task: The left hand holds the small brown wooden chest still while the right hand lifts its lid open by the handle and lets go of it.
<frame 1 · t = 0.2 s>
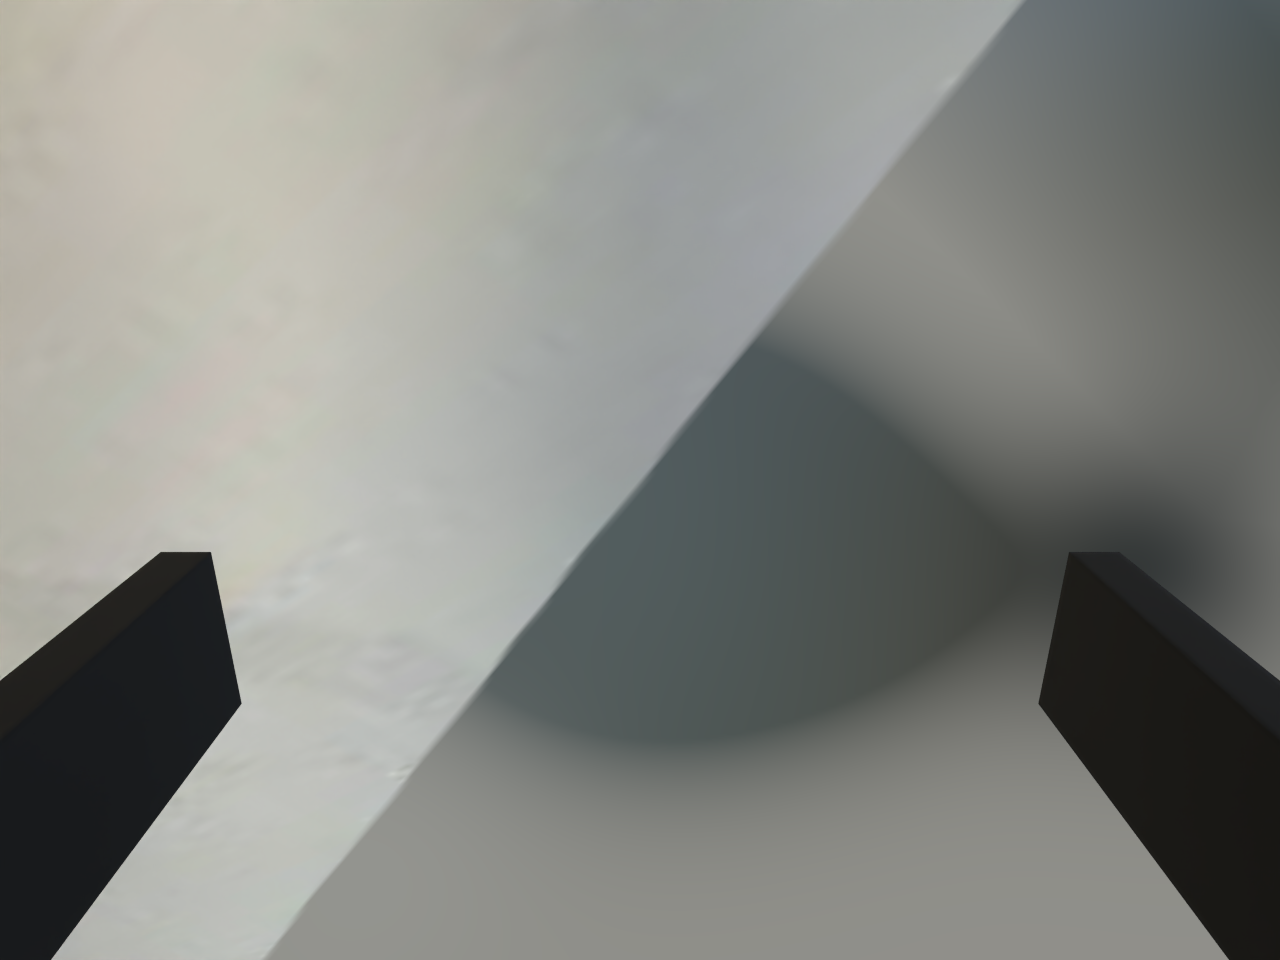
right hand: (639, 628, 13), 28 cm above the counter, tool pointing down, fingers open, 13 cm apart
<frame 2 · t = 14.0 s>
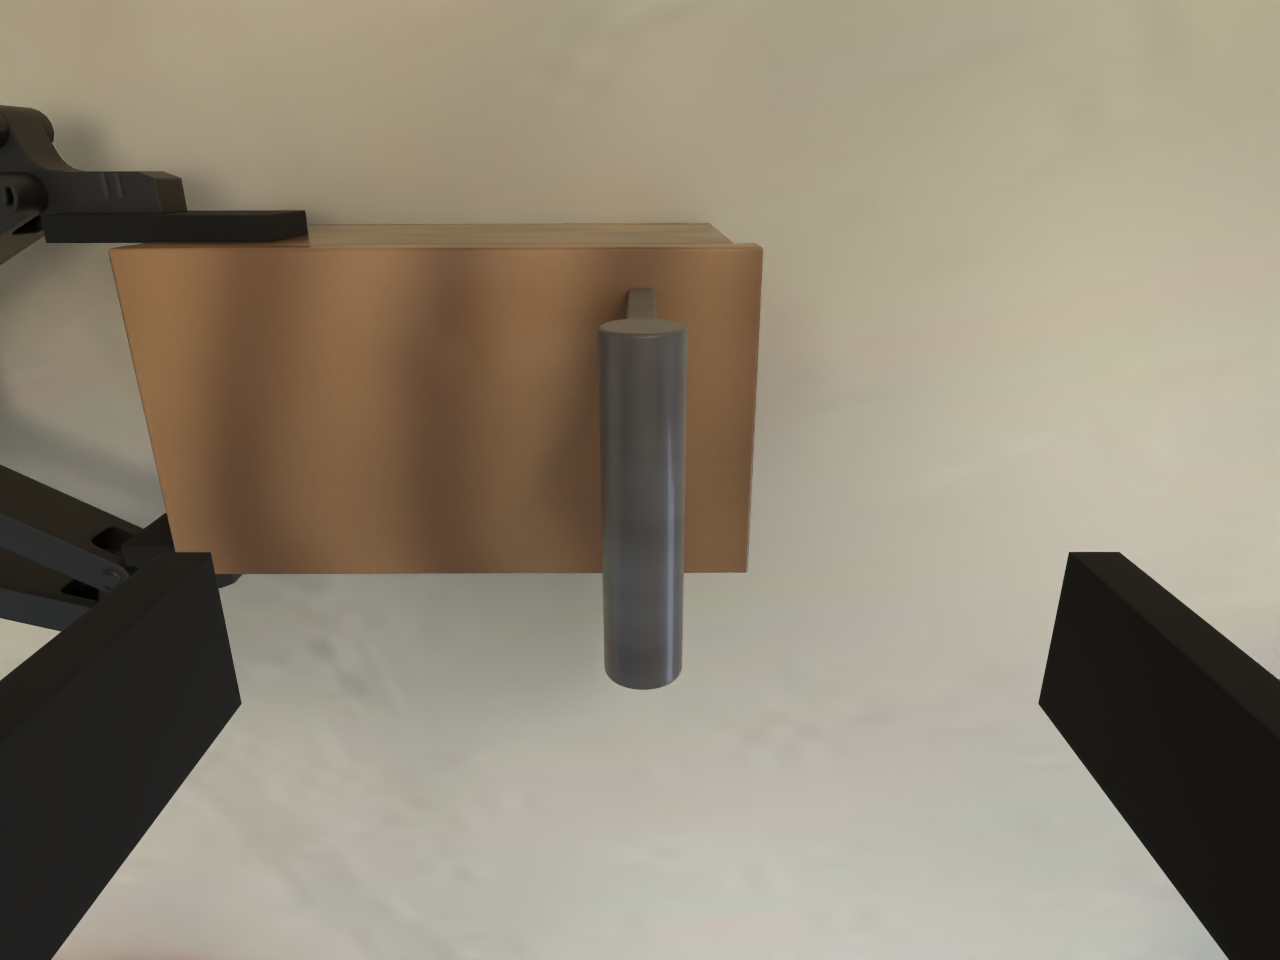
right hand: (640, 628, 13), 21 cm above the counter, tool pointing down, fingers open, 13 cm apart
chest: (495, 351, 33), on the counter, touching left hand
lid: (424, 458, 21), point 13 cm above the counter, hinge at 0.0°
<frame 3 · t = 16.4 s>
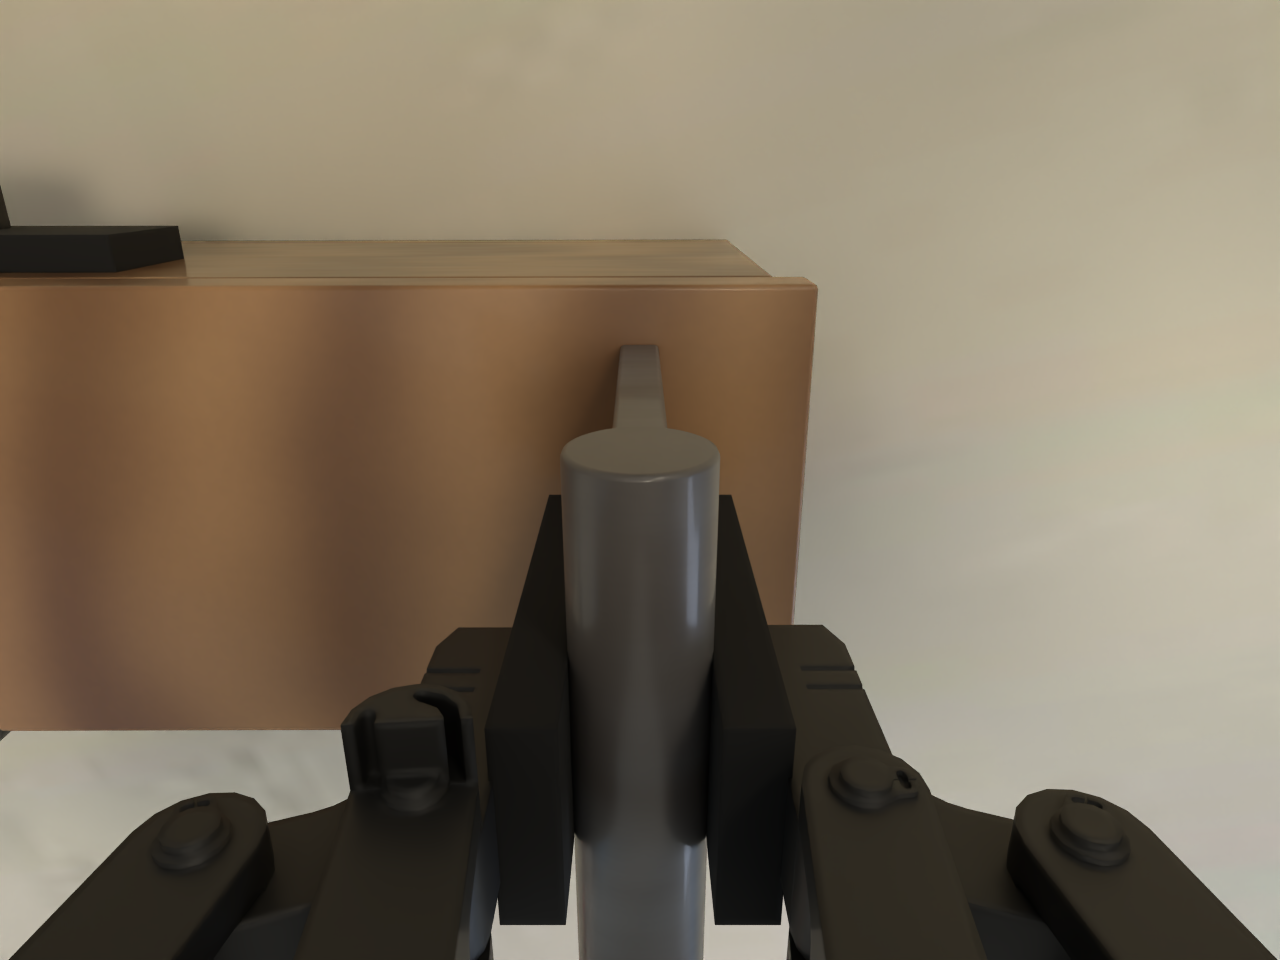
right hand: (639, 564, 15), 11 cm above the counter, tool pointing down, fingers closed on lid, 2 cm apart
chest: (453, 401, 26), on the counter, touching left hand
lid: (309, 608, 14), point 13 cm above the counter, hinge at 0.2°, touching right hand
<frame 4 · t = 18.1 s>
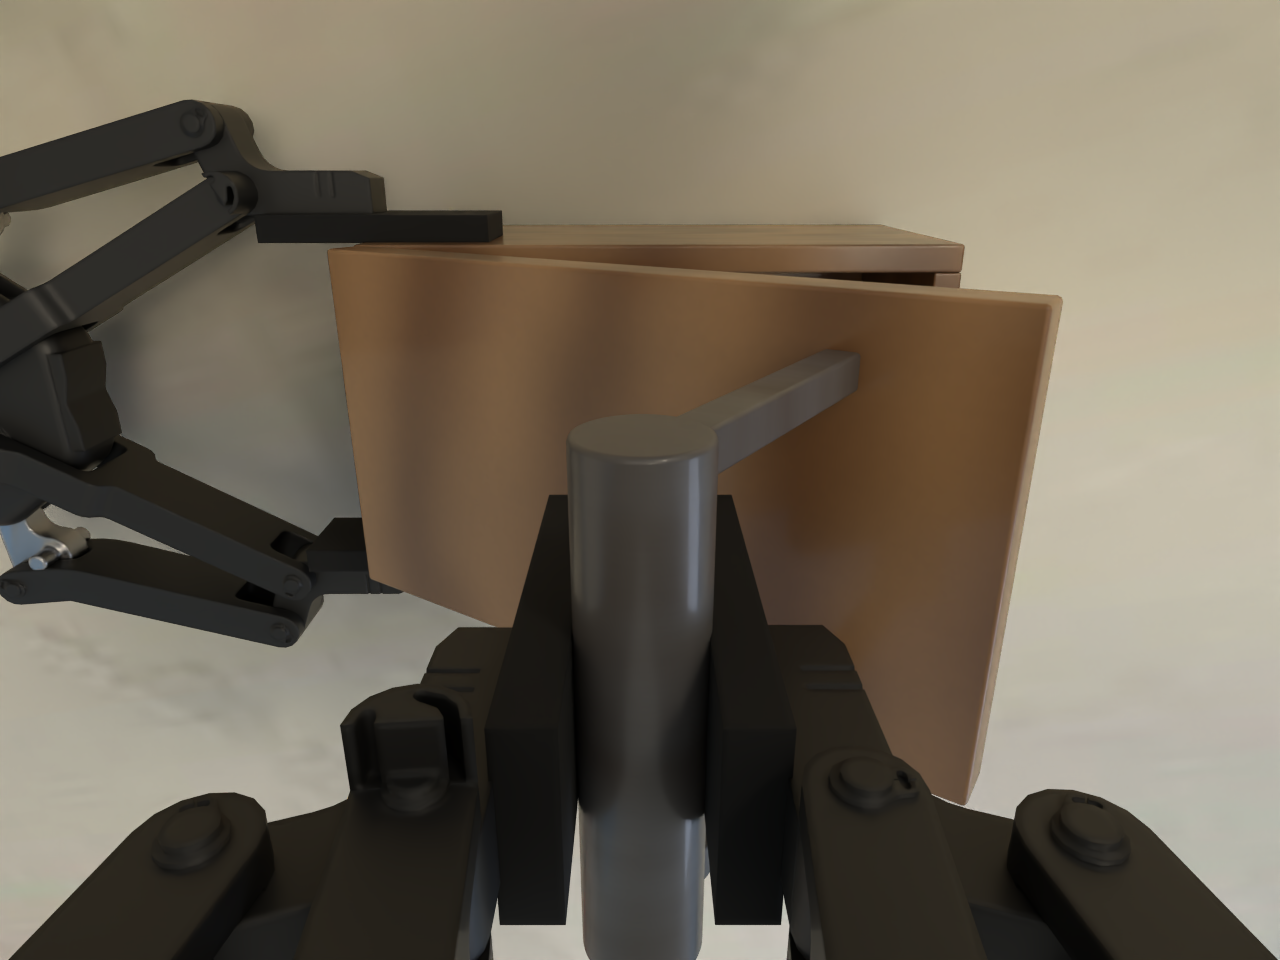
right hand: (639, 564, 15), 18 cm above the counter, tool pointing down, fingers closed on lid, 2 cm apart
left hand: (505, 395, 26), fingers closed on chest, 10 cm apart
chest: (654, 353, 32), on the counter, touching left hand
lid: (506, 534, 16), point 17 cm above the counter, hinge at 33.2°, touching right hand
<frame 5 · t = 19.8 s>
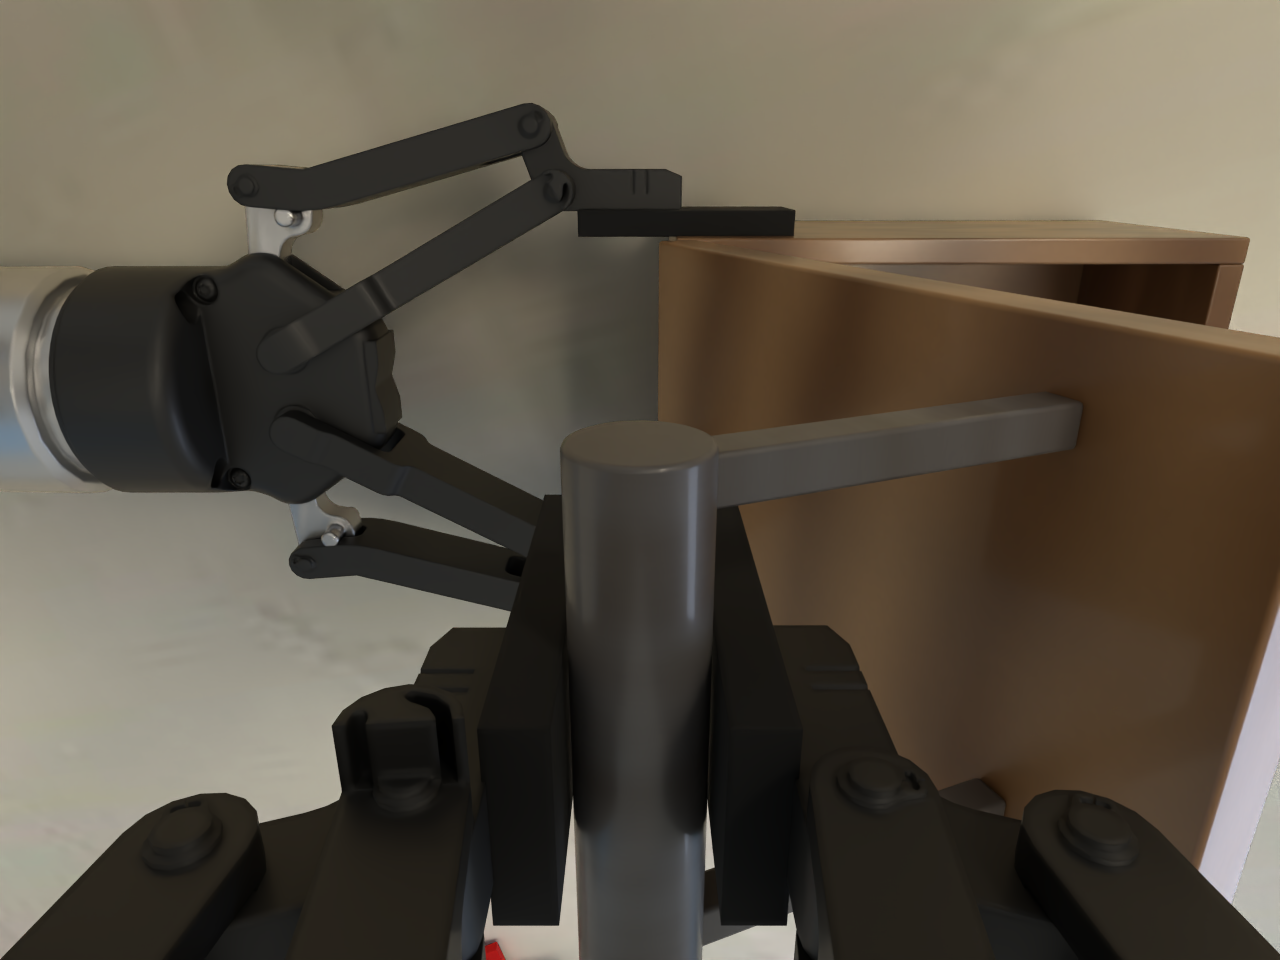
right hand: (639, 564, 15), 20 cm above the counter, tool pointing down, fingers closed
left hand: (777, 381, 28), fingers closed on chest, 10 cm apart
chest: (872, 343, 34), on the counter, touching left hand
lid: (691, 529, 16), point 19 cm above the counter, hinge at 66.8°
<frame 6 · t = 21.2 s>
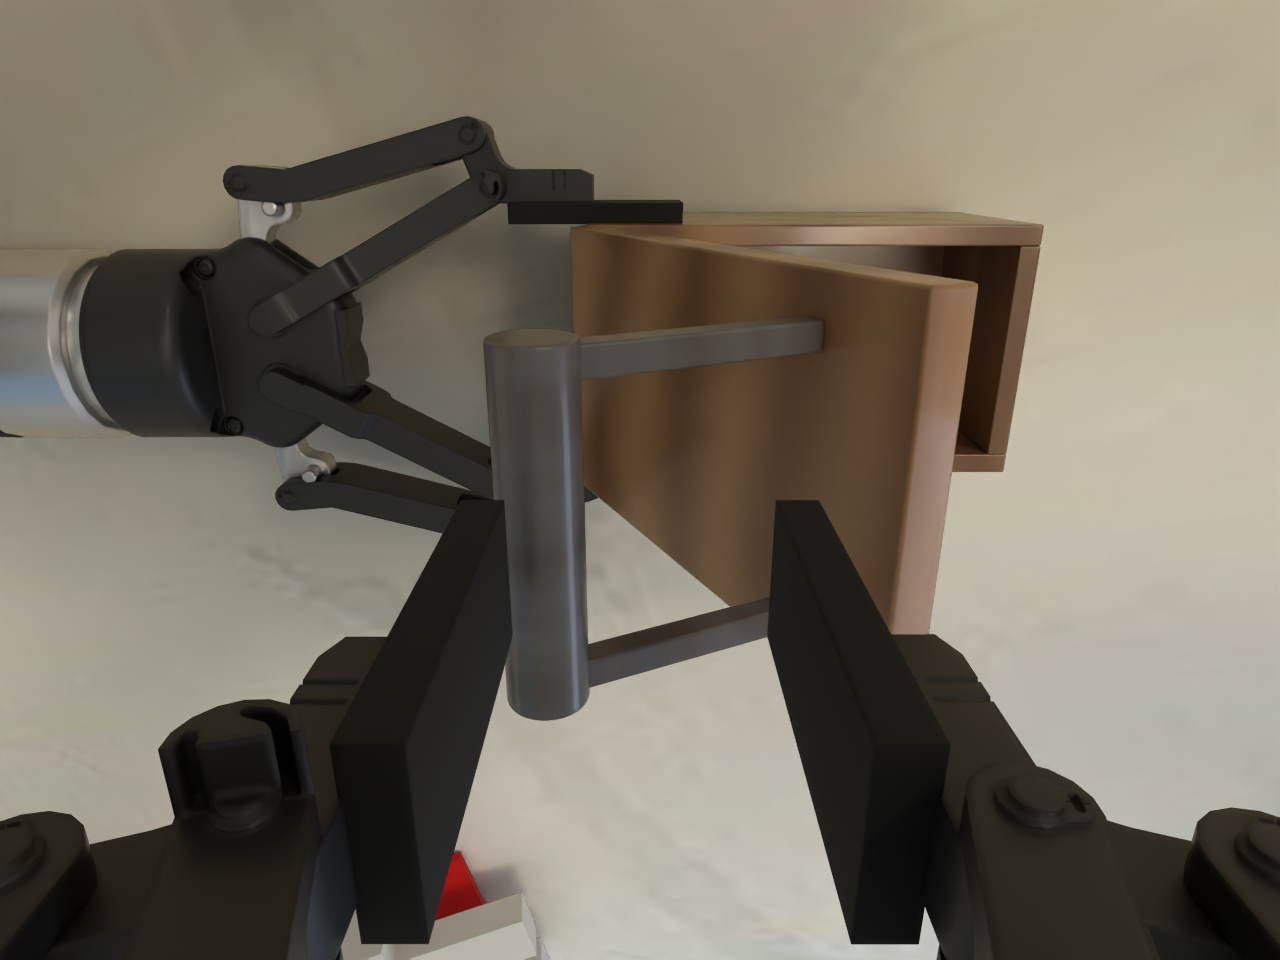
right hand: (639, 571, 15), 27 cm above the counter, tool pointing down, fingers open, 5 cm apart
left hand: (678, 343, 34), fingers closed on chest, 10 cm apart
toy: (323, 934, 54), on the counter
chest: (772, 317, 40), on the counter, touching left hand
lid: (589, 434, 22), point 19 cm above the counter, hinge at 63.7°
when the left hand's fingers open (6 cm above the counter, at t = 23.6 s): chest stays where it is, on the counter.
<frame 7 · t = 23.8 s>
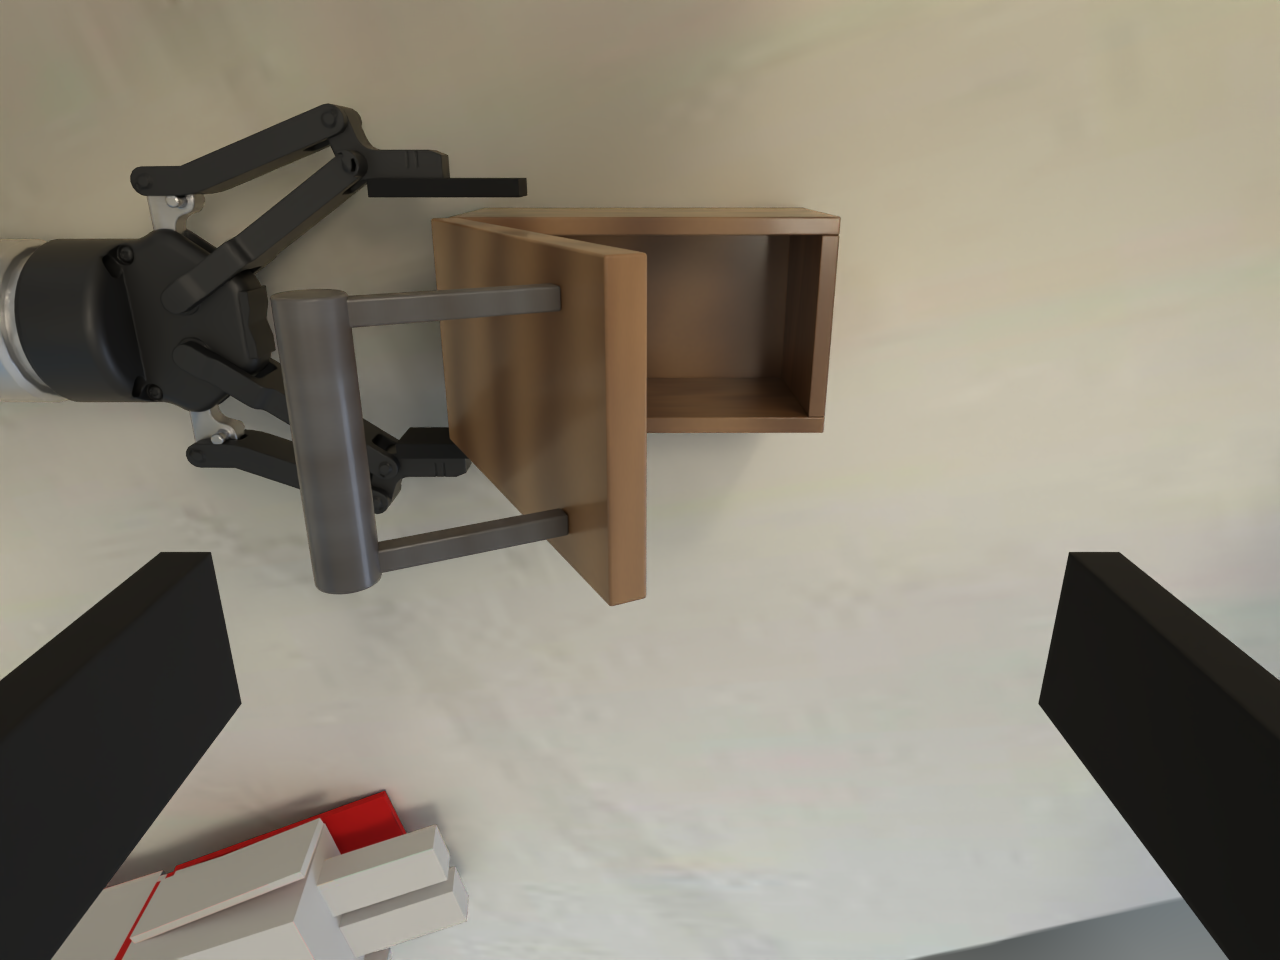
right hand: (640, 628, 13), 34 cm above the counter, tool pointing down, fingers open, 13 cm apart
left hand: (529, 321, 39), fingers open, 11 cm apart
toy: (264, 868, 59), on the counter
chest: (643, 301, 45), on the counter
lid: (414, 385, 27), point 19 cm above the counter, hinge at 63.2°
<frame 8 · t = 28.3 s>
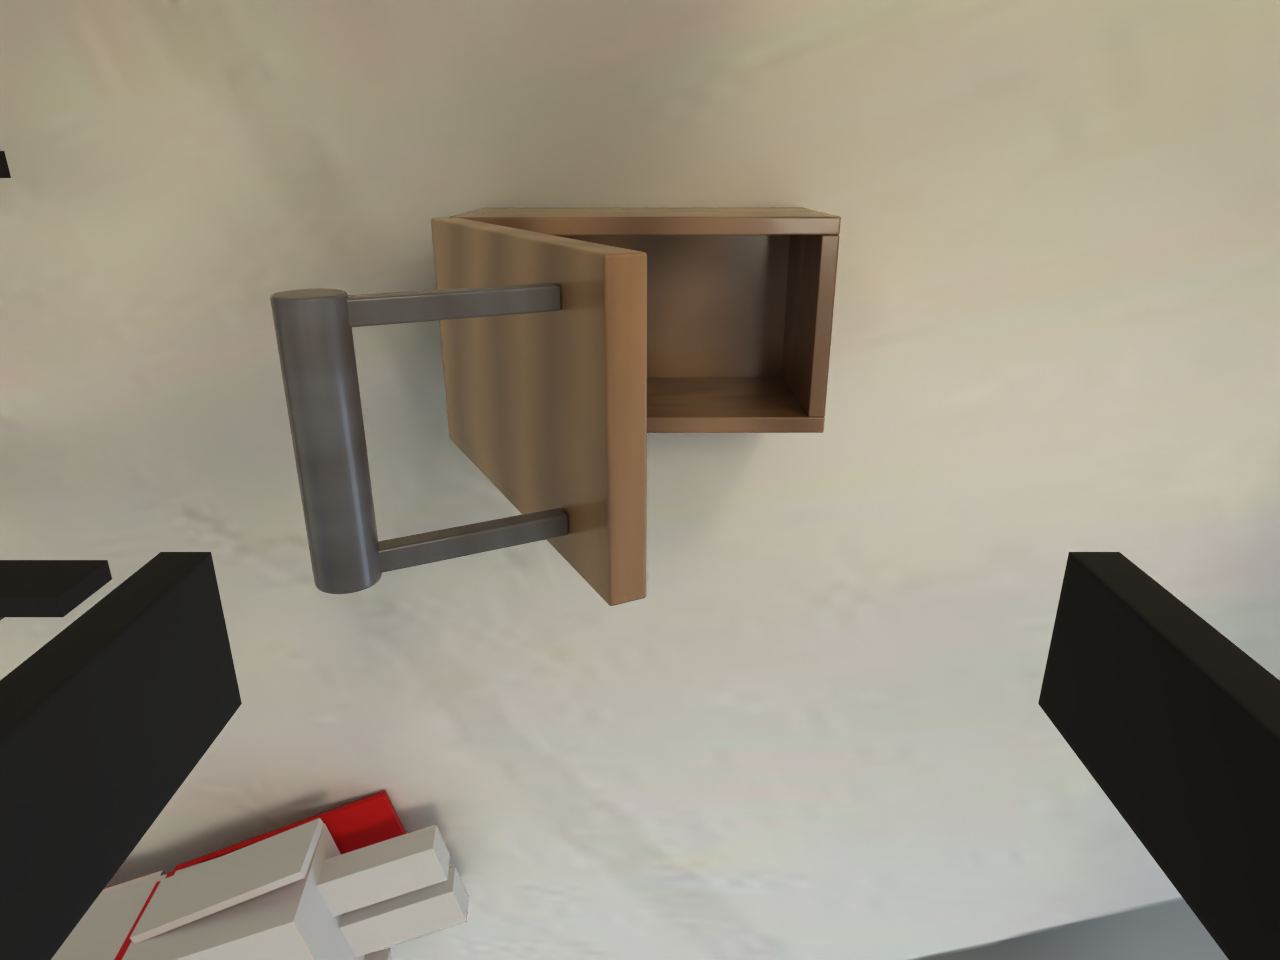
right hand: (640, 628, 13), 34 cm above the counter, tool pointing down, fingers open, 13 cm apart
toy: (264, 868, 59), on the counter
chest: (643, 301, 45), on the counter
lid: (414, 385, 27), point 19 cm above the counter, hinge at 63.2°
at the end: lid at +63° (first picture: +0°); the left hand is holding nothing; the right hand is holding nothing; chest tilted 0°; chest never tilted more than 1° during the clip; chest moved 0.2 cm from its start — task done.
